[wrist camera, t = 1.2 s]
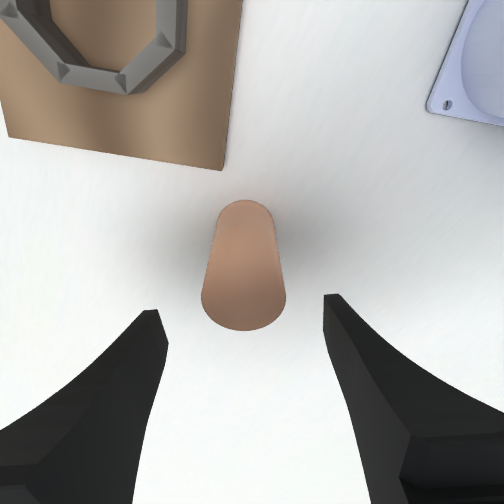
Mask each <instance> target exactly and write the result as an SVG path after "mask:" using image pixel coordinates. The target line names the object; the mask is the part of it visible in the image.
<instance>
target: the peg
mask: <svg viewBox="0 0 504 504" xmlns="http://www.w3.org/2000/svg"><path fill="white" fill-rule="evenodd" d="M201 301H202V306H203V308H204V310H205V312H206V313H207V315H208V316H209V317H210V318H211V319H212V320H213V321H214V322H216V323H217V324H219V325H221V326H223V327H225V328H228V329H232V330H237V331H250V330H256V329H259V328H262V327H265V326H267V325H269V324H270V323H272V322H273V321H274V320H276V319H277V318H278V317H279V315H280V314H281V313H282V311H283V309H284V306H285V302H286V293H285V287H284V281H283V275H282V269H281V264H280V258H279V252H278V246H277V241H276V235H275V229H274V223H273V219H272V216H271V214H270V213H269V211H268V210H267V209H266V208H265V207H264V206H262V205H261V204H259V203H257V202H254V201H249V200H241V201H236V202H233V203H231V204H229V205H228V206H226V207H225V208H224V209H223V210H222V212H221V213H220V215H219V217H218V220H217V224H216V229H215V233H214V238H213V243H212V247H211V252H210V256H209V261H208V265H207V270H206V274H205V279H204V284H203V288H202V293H201Z"/></svg>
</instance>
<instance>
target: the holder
mask: <svg viewBox="0 0 504 504" xmlns="http://www.w3.org/2000/svg"><path fill="white" fill-rule="evenodd" d="M242 1H243V0H0V101H1V106H2V110H3V114H4V119H5V123H6V128H7V132H8V136H9V137H11V138H17V139H23V140H30V141H36V142H42V143H48V144H55V145H61V146H67V147H74V148H80V149H86V150H92V151H99V152H105V153H111V154H117V155H124V156H130V157H136V158H142V159H149V160H155V161H161V162H167V163H174V164H180V165H186V166H192V167H199V168H205V169H211V170H218V171H222V169H223V166H224V157H225V148H226V140H227V131H228V122H229V114H230V105H231V96H232V88H233V79H234V70H235V62H236V53H237V44H238V36H239V27H240V18H241V10H242Z"/></svg>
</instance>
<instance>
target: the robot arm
mask: <svg viewBox="0 0 504 504" xmlns="http://www.w3.org/2000/svg"><path fill="white" fill-rule="evenodd" d="M445 101H448V106H447V108H446V109H444V110H443V104H444V102H445ZM427 109H428V111H429V112H431V113H435V114H441V115H446V116H451V117H457V118H462V119H467V120H472V121H478V122H483V123H488V124H494V125H499V126H504V0H469V1H468V4H467V6H466V9H465V11H464V14H463V16H462V19H461V21H460V23H459V26H458V28H457V31H456V33H455V36H454V38H453V41H452V43H451V46H450V48H449V50H448V53H447V55H446V58H445V60H444V63H443V65H442V68H441V70H440V73H439V75H438V77H437V80H436V82H435V85H434V87H433V90H432V92H431V95H430V97H429V99H428V102H427ZM323 332H324V337H325V341H326V346H327V350H328V353H329V356H330V359H331V362H332V365H333V368H334V370H335V373H336V376H337V379H338V381H339V384H340V387H341V390H342V393H343V395H344V398H345V401H346V404H347V407H348V410H349V414H350V418H351V421H352V425H353V429H354V433H355V437H356V441H357V445H358V449H359V453H360V457H361V461H362V466H363V470H364V474H365V479H366V483H367V487H368V492H369V496H370V501H371V504H504V413H503V412H501V411H499V410H497V409H495V408H493V407H491V406H489V405H487V404H485V403H483V402H481V401H479V400H477V399H475V398H473V397H471V396H469V395H467V394H465V393H463V392H461V391H460V390H458V389H456V388H454V387H452V386H451V385H449V384H447V383H445V382H444V381H442V380H440V379H439V378H437V377H436V376H434V375H432V374H431V373H429V372H428V371H426V370H425V369H423V368H422V367H420V366H418V365H417V364H416V363H414V362H413V361H411V360H410V359H408V358H407V357H406V356H404V355H403V354H402V353H400V352H399V351H398V350H397V349H395V348H394V347H393V346H392V345H390V344H389V343H388V342H387V341H386V340H385V339H383V338H382V337H381V336H380V335H379V334H378V333H377V332H376V331H374V330H373V329H372V328H371V327H370V326H369V325H368V324H367V323H366V322H365V321H364V320H363V319H362V318H361V317H360V316H359V315H358V314H357V313H356V312H355V311H354V310H353V309H352V308H351V306H350V305H349V304H348V303H347V302H346V301H345V300H344V299H343V298H342V296H341V295H339V294H328V295H324V312H323ZM168 344H169V343H168V340H167V337H166V334H165V331H164V328H163V325H162V322H161V319H160V316H159V313H158V310H157V309H155V310H144V311H143V312H142V313H141V314H140V315H139V316H138V317H137V318H136V319H135V320H134V321H133V322H132V323H131V324H130V325H129V326H128V327H127V329H126V330H125V331H124V332H123V333H122V334H121V335H120V336H119V337H118V338H117V339H116V340H115V341H114V342H113V343H112V344H111V345H110V346H109V347H108V348H107V349H106V350H105V351H104V352H103V353H102V354H101V355H100V356H99V357H98V358H97V359H96V360H95V361H94V362H93V363H92V364H90V365H89V366H88V367H87V368H86V369H85V370H84V371H83V372H81V373H80V374H79V375H78V376H77V377H75V378H74V379H73V380H72V381H71V382H69V383H68V384H67V385H66V386H64V387H63V388H62V389H60V390H59V391H58V392H56V393H55V394H54V395H52V396H51V397H50V398H48V399H47V400H45V401H44V402H43V403H41V404H40V405H39V406H37V407H36V408H34V409H33V410H31V411H30V412H28V413H27V414H25V415H24V416H22V417H21V418H19V419H18V420H16V421H15V422H13V423H11V424H10V425H8V426H7V427H5V428H3V429H2V430H0V504H132V501H133V495H134V489H135V482H136V476H137V471H138V466H139V460H140V455H141V450H142V445H143V440H144V435H145V431H146V426H147V422H148V419H149V415H150V412H151V409H152V405H153V402H154V399H155V396H156V393H157V389H158V386H159V383H160V380H161V376H162V373H163V370H164V366H165V362H166V356H167V350H168Z"/></svg>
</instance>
